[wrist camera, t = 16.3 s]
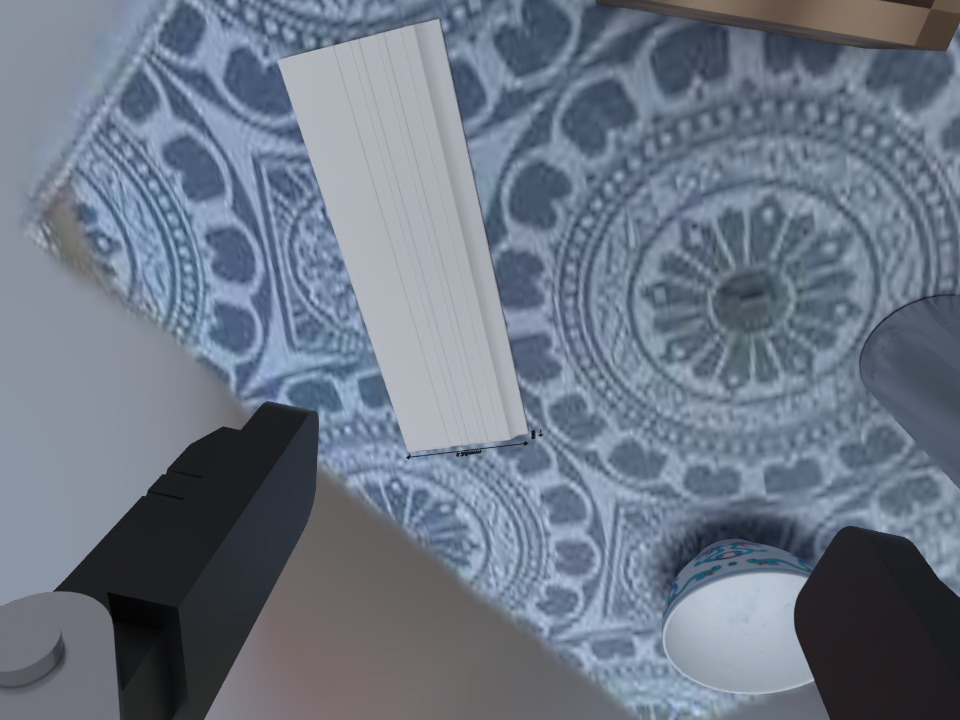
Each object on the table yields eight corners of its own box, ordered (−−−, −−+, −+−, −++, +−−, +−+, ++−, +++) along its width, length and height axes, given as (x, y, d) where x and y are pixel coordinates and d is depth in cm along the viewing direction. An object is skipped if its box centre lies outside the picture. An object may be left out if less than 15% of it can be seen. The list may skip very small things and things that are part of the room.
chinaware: (640, 613, 59) (652, 687, 53) (658, 499, 52) (675, 567, 45) (796, 623, 58) (829, 700, 51) (836, 507, 51) (881, 579, 44)
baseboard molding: (464, 13, 36) (286, 59, 39) (458, 11, 34) (267, 60, 36) (545, 425, 50) (411, 442, 53) (545, 446, 48) (405, 462, 50)
